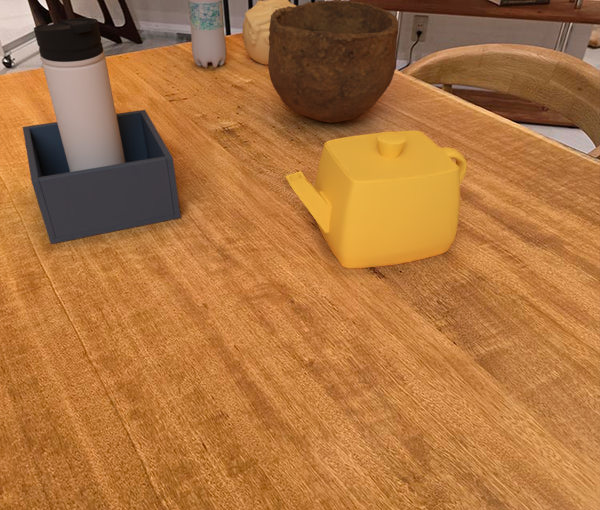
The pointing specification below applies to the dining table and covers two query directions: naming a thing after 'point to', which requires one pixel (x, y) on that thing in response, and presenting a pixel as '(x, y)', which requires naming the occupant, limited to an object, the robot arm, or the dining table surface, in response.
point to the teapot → (384, 197)
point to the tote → (103, 182)
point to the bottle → (207, 32)
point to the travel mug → (80, 92)
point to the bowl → (332, 57)
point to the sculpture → (260, 28)
